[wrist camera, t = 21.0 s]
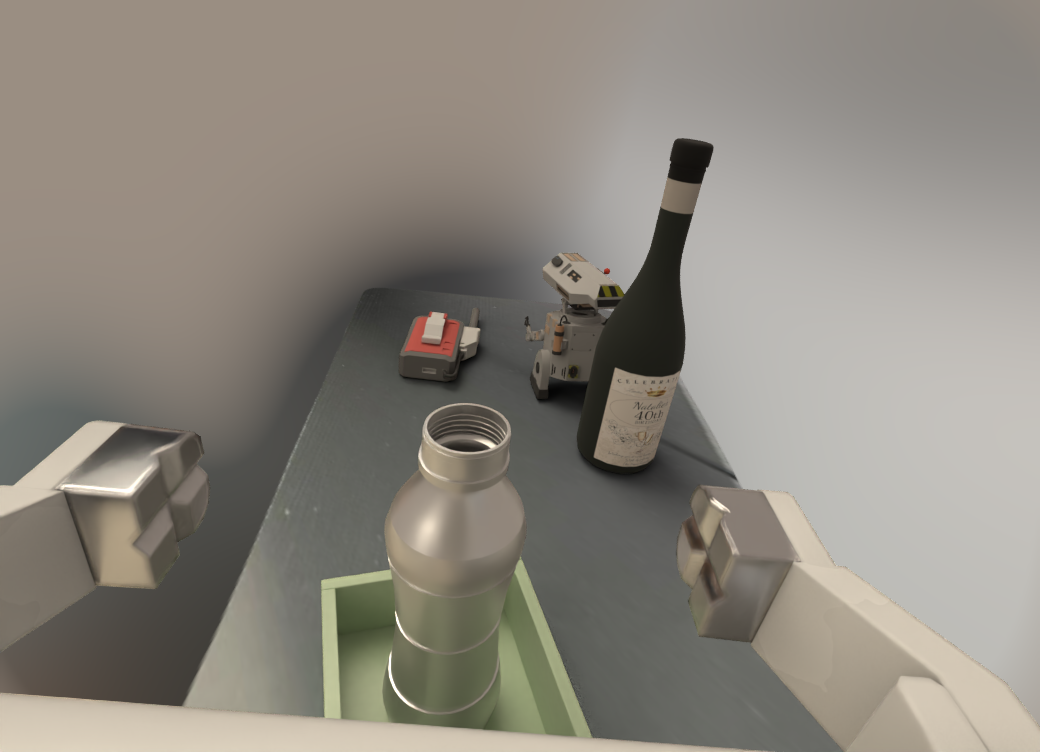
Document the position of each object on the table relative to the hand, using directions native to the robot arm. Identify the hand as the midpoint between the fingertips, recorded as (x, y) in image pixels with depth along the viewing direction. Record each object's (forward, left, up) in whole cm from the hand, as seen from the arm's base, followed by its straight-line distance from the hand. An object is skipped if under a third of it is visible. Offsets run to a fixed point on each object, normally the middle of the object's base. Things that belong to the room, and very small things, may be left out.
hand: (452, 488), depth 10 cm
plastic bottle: (+12, -4, -27) cm, 30 cm away
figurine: (+48, -26, -28) cm, 61 cm away
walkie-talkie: (+58, -13, -28) cm, 65 cm away
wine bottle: (+34, -26, -28) cm, 51 cm away
